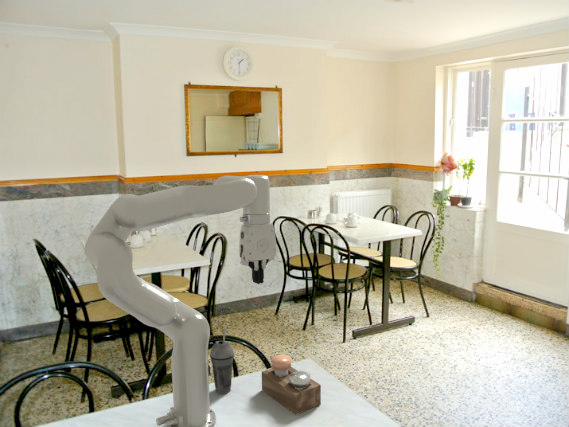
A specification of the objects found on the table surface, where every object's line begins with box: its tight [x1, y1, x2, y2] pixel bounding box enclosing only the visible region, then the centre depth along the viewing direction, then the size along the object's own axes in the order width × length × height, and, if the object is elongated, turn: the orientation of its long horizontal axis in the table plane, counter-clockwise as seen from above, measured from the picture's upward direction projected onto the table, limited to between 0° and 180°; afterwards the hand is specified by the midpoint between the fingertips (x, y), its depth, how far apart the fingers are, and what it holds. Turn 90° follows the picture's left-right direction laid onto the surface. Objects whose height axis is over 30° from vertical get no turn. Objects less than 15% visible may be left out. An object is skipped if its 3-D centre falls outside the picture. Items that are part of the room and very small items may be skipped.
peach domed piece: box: [270, 354, 292, 378], centre depth 149 cm, size 6×6×8 cm
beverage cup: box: [209, 326, 235, 395], centre depth 149 cm, size 7×7×20 cm
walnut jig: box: [261, 366, 322, 416], centre depth 146 cm, size 9×17×6 cm, turn 36°
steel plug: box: [289, 370, 311, 390], centre depth 142 cm, size 6×6×8 cm
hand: (258, 282), depth 141 cm, fingers closed
